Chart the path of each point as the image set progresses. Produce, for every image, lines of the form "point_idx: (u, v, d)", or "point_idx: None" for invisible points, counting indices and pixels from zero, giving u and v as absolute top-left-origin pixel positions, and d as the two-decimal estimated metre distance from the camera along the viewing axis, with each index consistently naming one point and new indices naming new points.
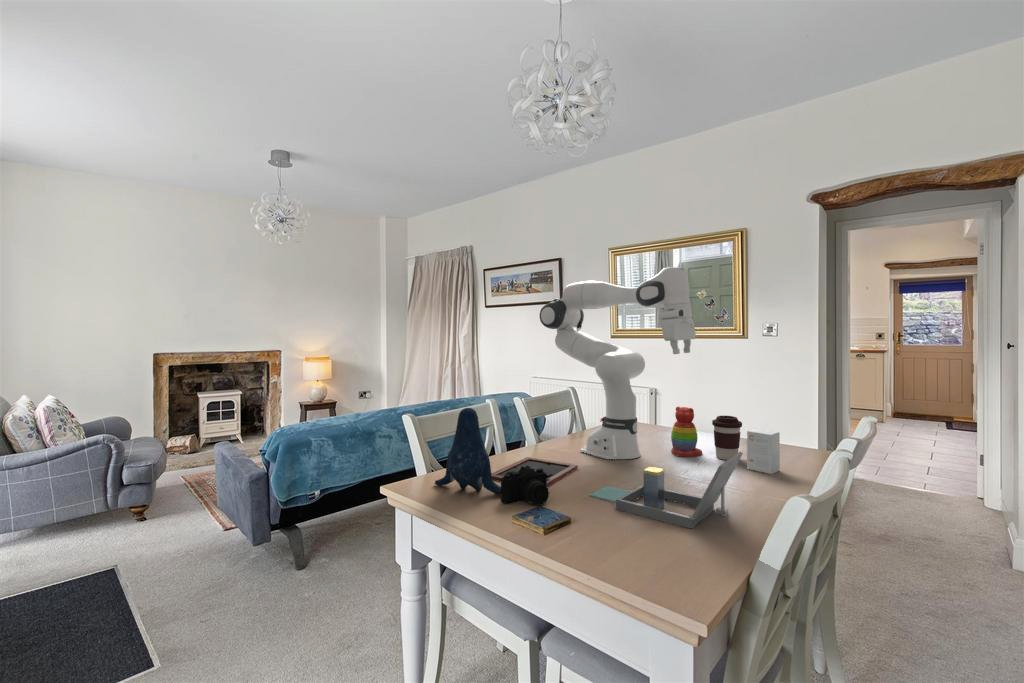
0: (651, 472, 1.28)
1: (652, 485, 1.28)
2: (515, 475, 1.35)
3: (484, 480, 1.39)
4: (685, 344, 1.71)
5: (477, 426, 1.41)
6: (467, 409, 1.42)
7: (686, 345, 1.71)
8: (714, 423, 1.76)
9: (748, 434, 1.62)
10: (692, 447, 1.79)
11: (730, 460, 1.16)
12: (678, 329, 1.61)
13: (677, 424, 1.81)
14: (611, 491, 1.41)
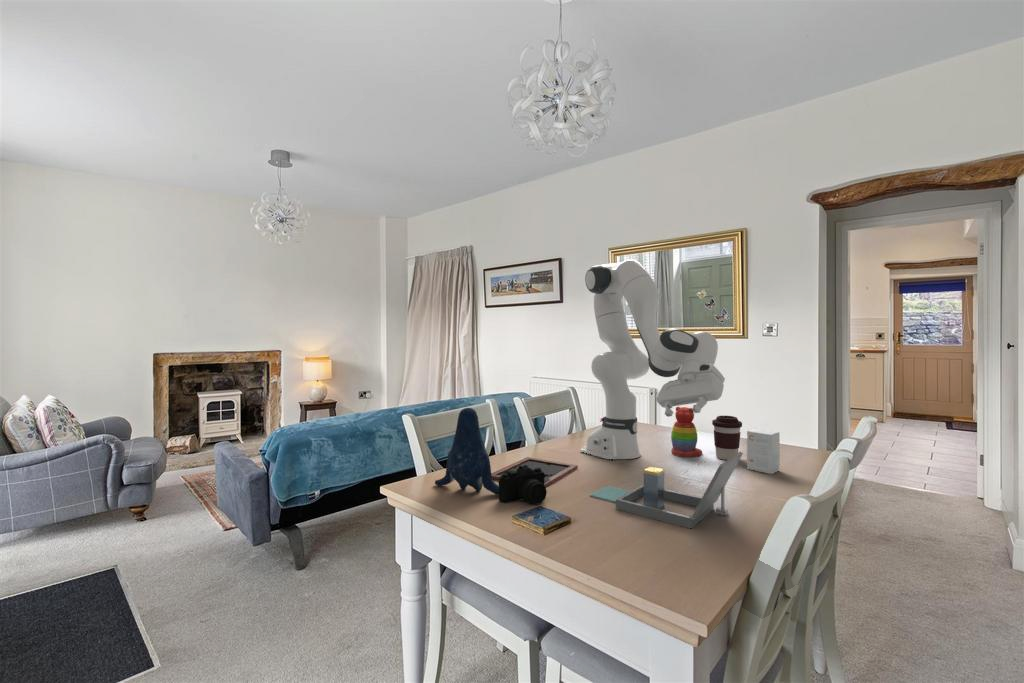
0: (651, 472, 1.28)
1: (652, 485, 1.28)
2: (513, 474, 1.35)
3: (484, 480, 1.39)
4: (667, 406, 1.45)
5: (477, 425, 1.41)
6: (467, 409, 1.42)
7: (668, 408, 1.45)
8: (714, 423, 1.76)
9: (748, 434, 1.62)
10: (692, 447, 1.79)
11: (730, 460, 1.16)
12: None
13: (677, 424, 1.81)
14: (611, 491, 1.41)
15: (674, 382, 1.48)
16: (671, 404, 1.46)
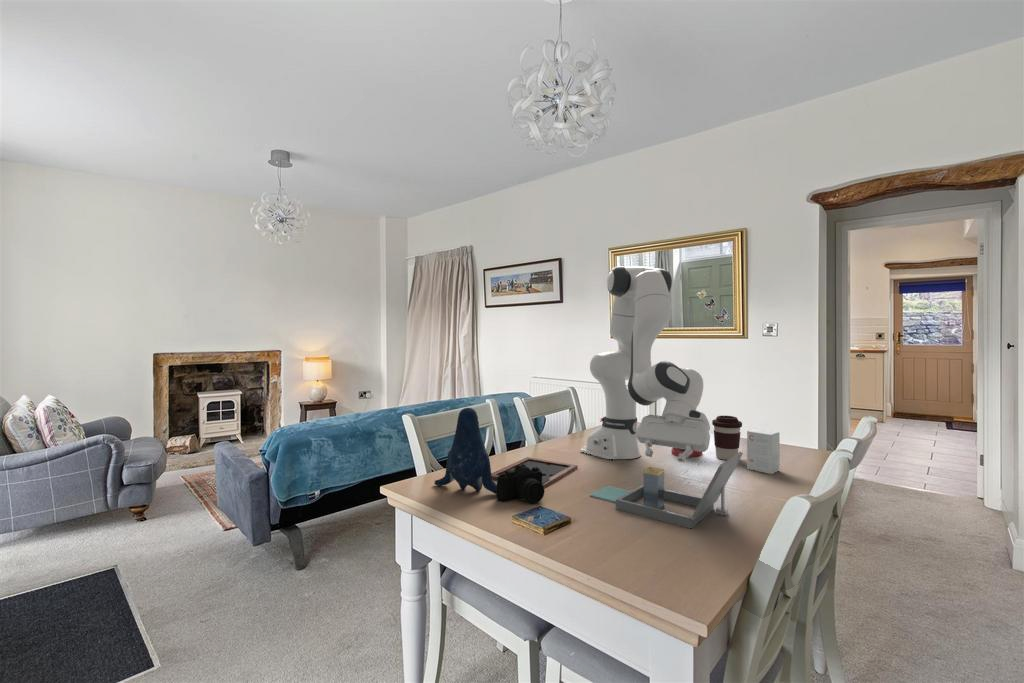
0: (651, 472, 1.28)
1: (652, 485, 1.28)
2: (511, 473, 1.36)
3: (484, 480, 1.39)
4: (648, 445, 1.39)
5: (477, 425, 1.41)
6: (467, 409, 1.42)
7: (648, 447, 1.39)
8: (714, 423, 1.76)
9: (748, 434, 1.62)
10: None
11: (730, 460, 1.16)
12: None
13: None
14: (611, 491, 1.41)
15: (657, 419, 1.42)
16: (651, 443, 1.40)
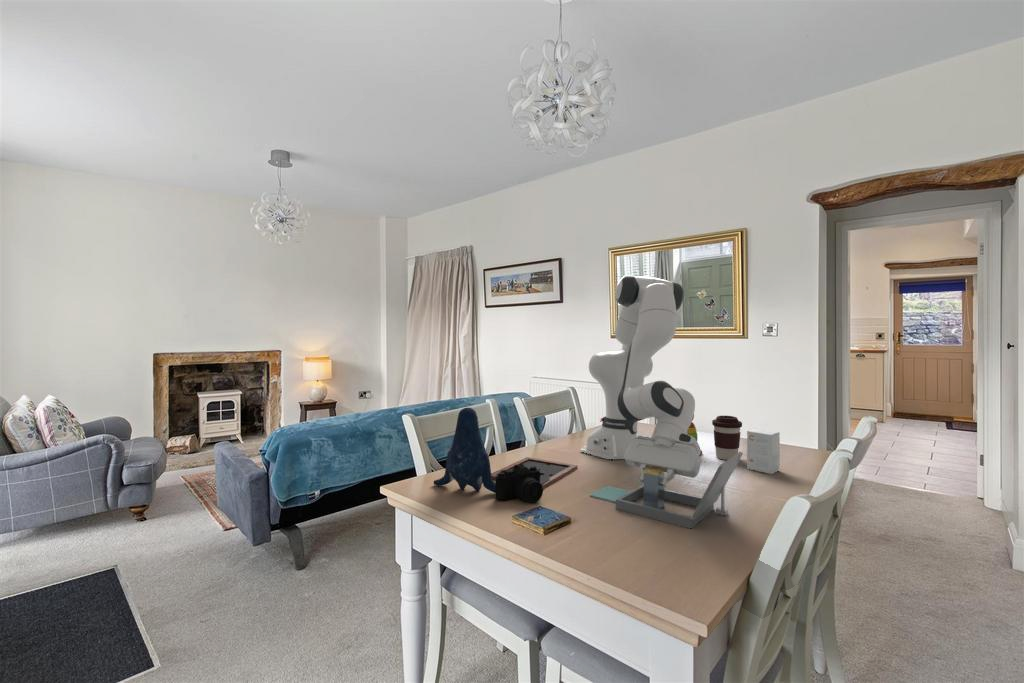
0: (651, 472, 1.28)
1: (652, 485, 1.28)
2: (509, 473, 1.36)
3: (484, 479, 1.40)
4: (643, 470, 1.33)
5: (477, 425, 1.42)
6: (467, 409, 1.42)
7: None
8: (714, 423, 1.76)
9: (748, 434, 1.62)
10: None
11: (730, 460, 1.16)
12: None
13: None
14: (611, 491, 1.41)
15: (646, 441, 1.37)
16: (647, 467, 1.34)
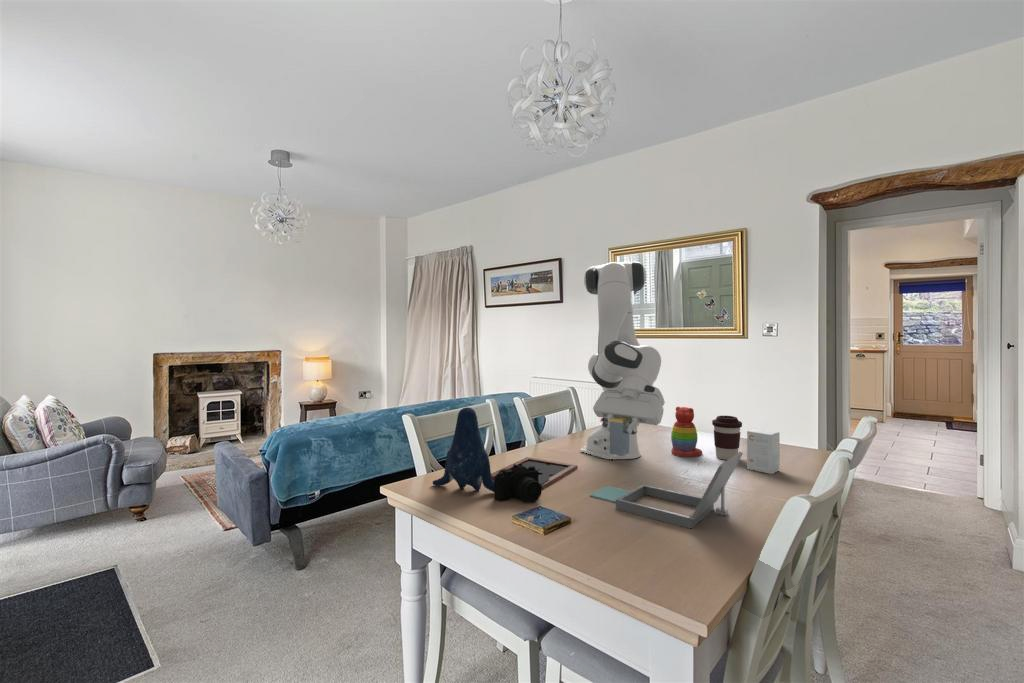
0: (617, 420, 1.36)
1: (617, 432, 1.36)
2: (508, 473, 1.37)
3: (484, 479, 1.40)
4: None
5: (476, 425, 1.42)
6: (466, 409, 1.42)
7: None
8: (714, 423, 1.76)
9: (748, 434, 1.62)
10: (692, 447, 1.79)
11: (730, 460, 1.16)
12: None
13: (677, 424, 1.81)
14: (611, 491, 1.41)
15: (614, 394, 1.45)
16: None
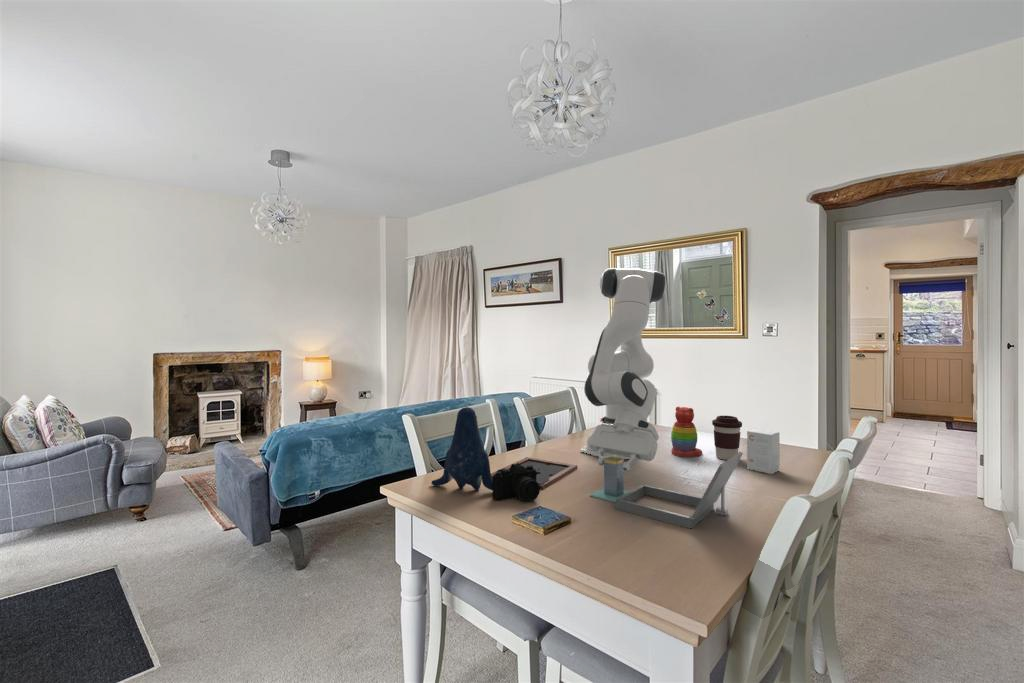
0: (611, 461, 1.37)
1: (612, 473, 1.37)
2: (506, 472, 1.37)
3: (484, 478, 1.41)
4: (601, 453, 1.43)
5: (476, 425, 1.43)
6: (466, 408, 1.42)
7: (601, 455, 1.43)
8: (714, 423, 1.76)
9: (748, 434, 1.62)
10: (692, 447, 1.79)
11: (730, 460, 1.16)
12: None
13: (677, 424, 1.81)
14: None
15: (609, 428, 1.46)
16: (604, 451, 1.44)
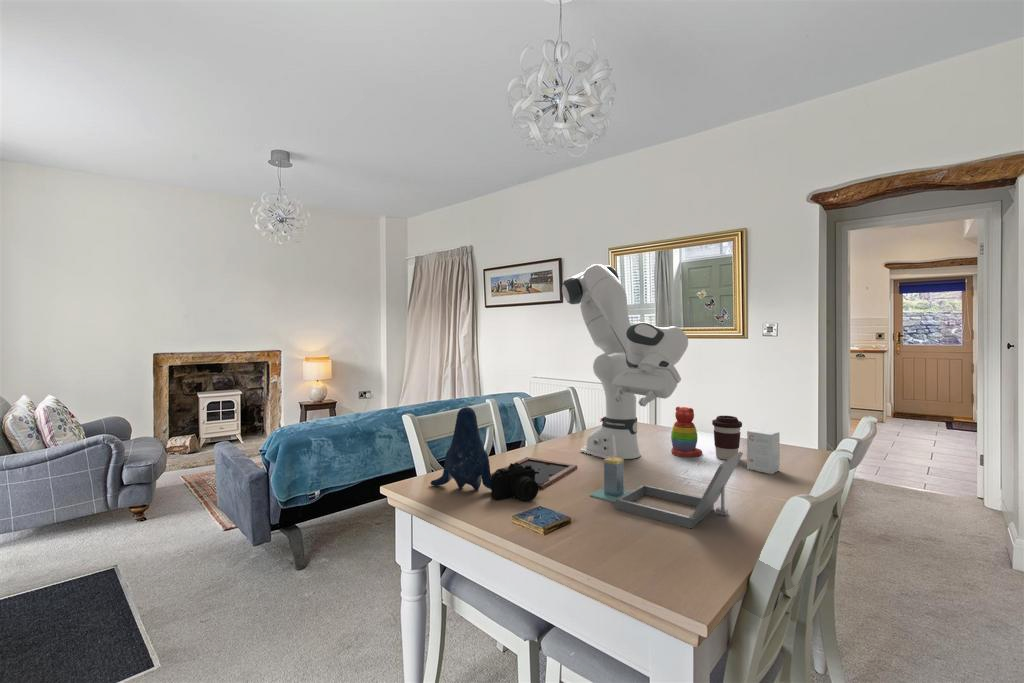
0: (611, 461, 1.37)
1: (612, 473, 1.37)
2: (505, 472, 1.38)
3: (484, 478, 1.41)
4: (619, 391, 1.46)
5: (476, 424, 1.43)
6: (466, 408, 1.43)
7: (620, 393, 1.46)
8: (714, 423, 1.76)
9: (748, 434, 1.62)
10: (692, 447, 1.79)
11: (730, 460, 1.16)
12: None
13: (677, 424, 1.81)
14: None
15: (633, 370, 1.48)
16: (624, 390, 1.47)
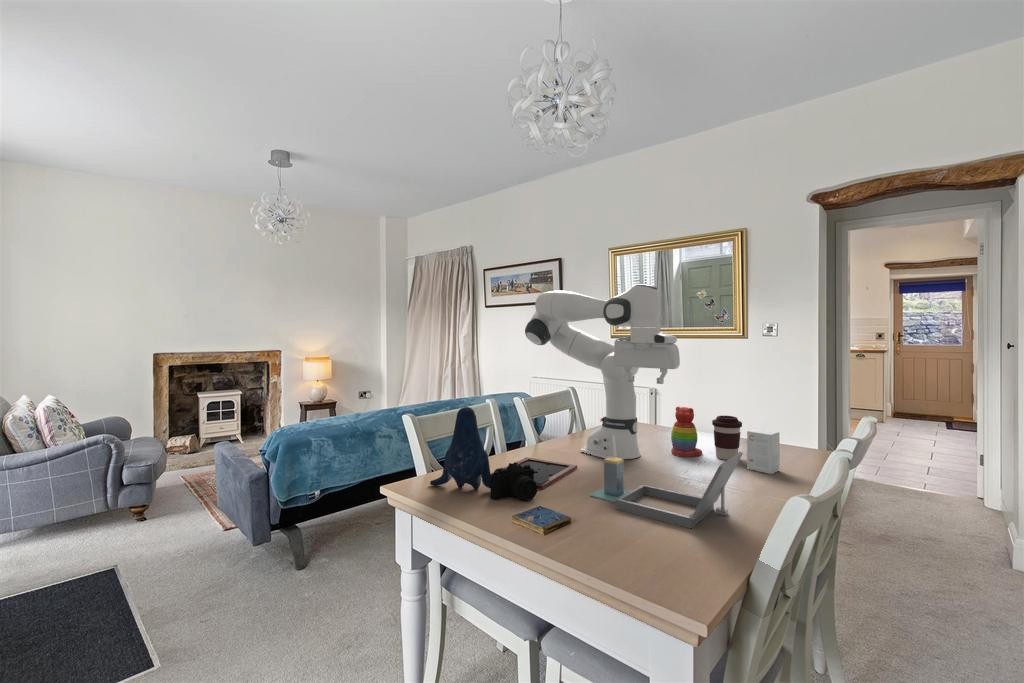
0: (611, 461, 1.37)
1: (612, 473, 1.37)
2: (504, 472, 1.38)
3: (484, 478, 1.41)
4: (628, 371, 1.51)
5: (476, 424, 1.43)
6: (466, 408, 1.43)
7: (629, 373, 1.51)
8: (714, 423, 1.76)
9: (748, 434, 1.62)
10: (692, 447, 1.79)
11: (730, 460, 1.16)
12: None
13: (677, 424, 1.81)
14: None
15: (627, 345, 1.49)
16: (630, 367, 1.51)
